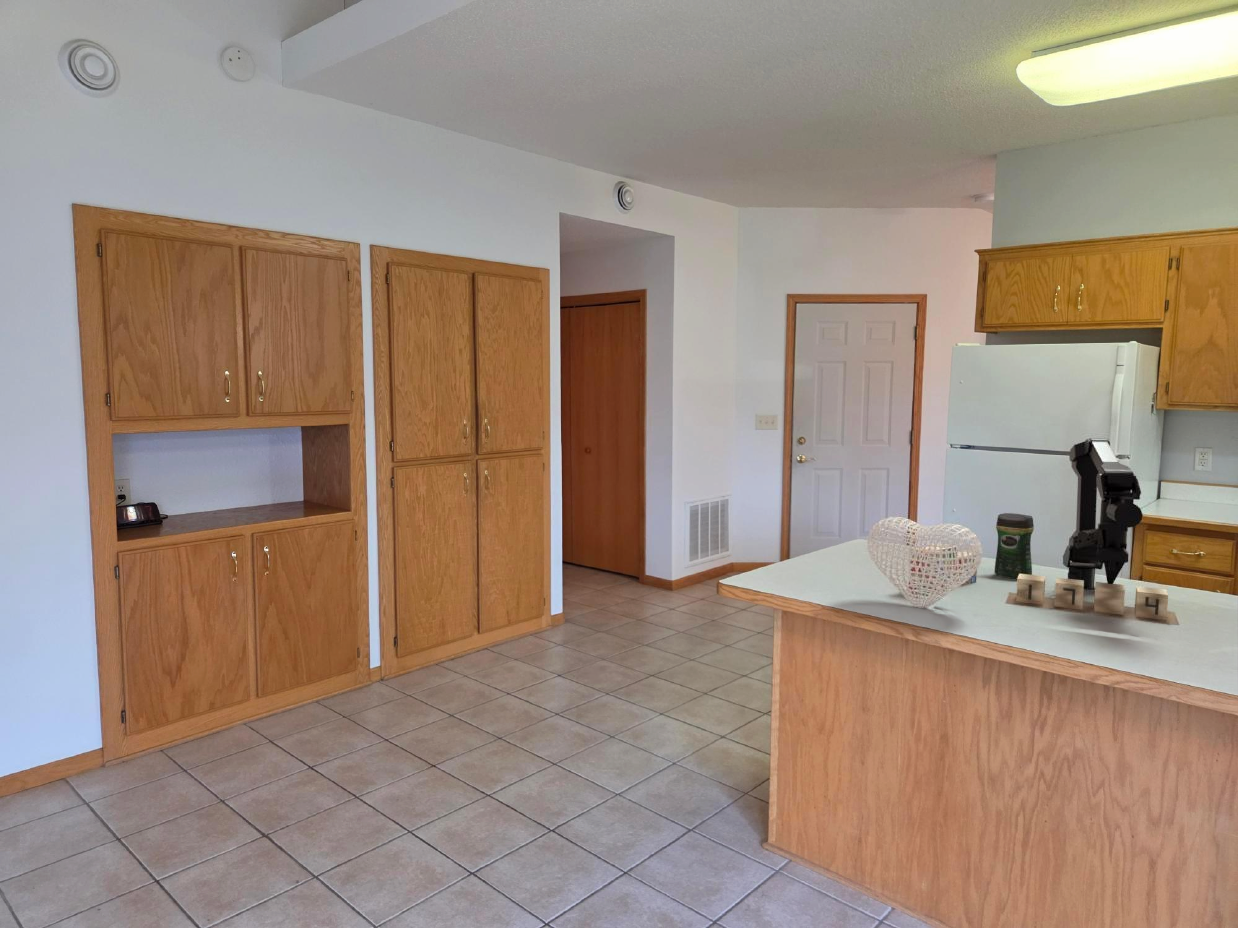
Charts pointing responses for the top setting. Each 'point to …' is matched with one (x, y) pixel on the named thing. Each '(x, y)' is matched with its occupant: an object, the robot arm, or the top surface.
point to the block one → (1030, 589)
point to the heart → (919, 531)
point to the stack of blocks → (970, 580)
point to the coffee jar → (1013, 545)
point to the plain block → (1109, 598)
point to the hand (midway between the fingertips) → (1110, 583)
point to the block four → (1151, 603)
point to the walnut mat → (1089, 609)
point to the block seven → (1069, 593)
